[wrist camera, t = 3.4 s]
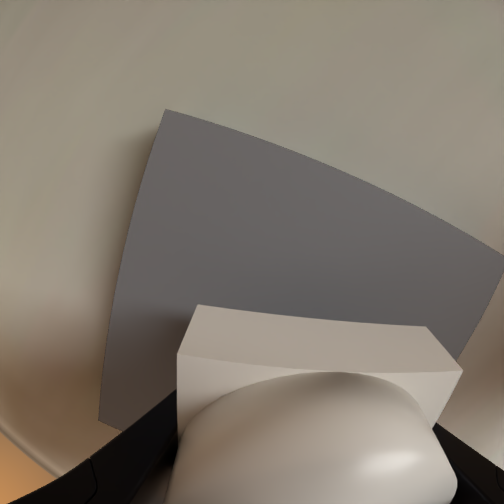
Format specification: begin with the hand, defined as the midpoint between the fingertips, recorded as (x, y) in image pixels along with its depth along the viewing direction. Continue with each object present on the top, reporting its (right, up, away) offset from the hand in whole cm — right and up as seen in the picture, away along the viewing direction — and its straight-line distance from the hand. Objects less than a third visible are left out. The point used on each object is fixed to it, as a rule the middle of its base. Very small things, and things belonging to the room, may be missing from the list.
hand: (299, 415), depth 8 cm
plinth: (0, +1, +4) cm, 4 cm away
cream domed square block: (0, 0, 0) cm, 0 cm away
